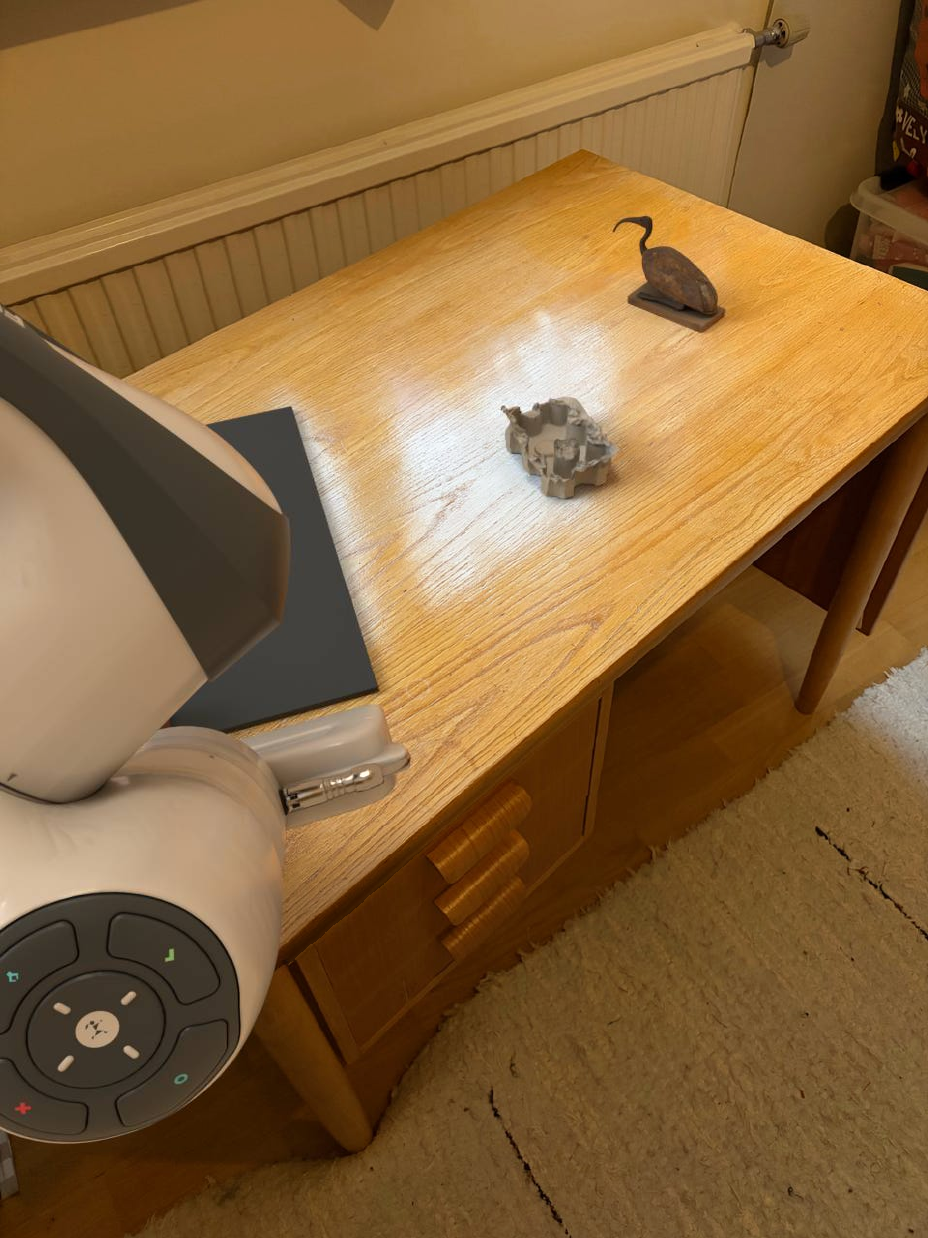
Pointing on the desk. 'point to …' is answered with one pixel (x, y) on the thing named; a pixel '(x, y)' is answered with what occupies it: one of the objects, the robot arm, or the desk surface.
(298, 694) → the desk mat
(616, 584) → the desk surface
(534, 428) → the egg carton
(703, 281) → the figurine
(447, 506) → the desk surface
